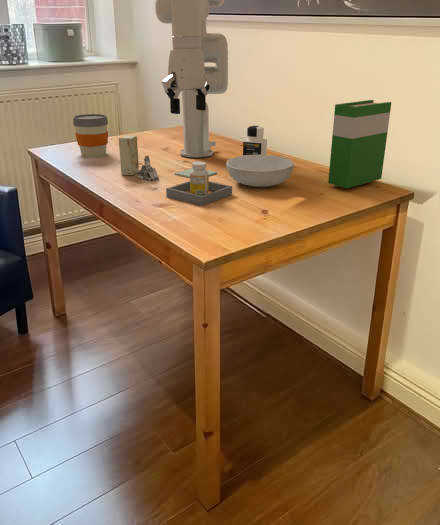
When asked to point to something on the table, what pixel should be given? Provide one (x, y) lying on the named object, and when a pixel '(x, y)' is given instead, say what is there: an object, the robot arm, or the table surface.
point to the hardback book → (358, 142)
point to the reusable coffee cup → (91, 134)
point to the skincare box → (128, 155)
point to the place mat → (187, 173)
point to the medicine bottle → (255, 141)
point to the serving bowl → (259, 169)
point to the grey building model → (147, 171)
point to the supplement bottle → (199, 179)
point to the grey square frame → (181, 194)
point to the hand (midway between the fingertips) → (188, 111)
